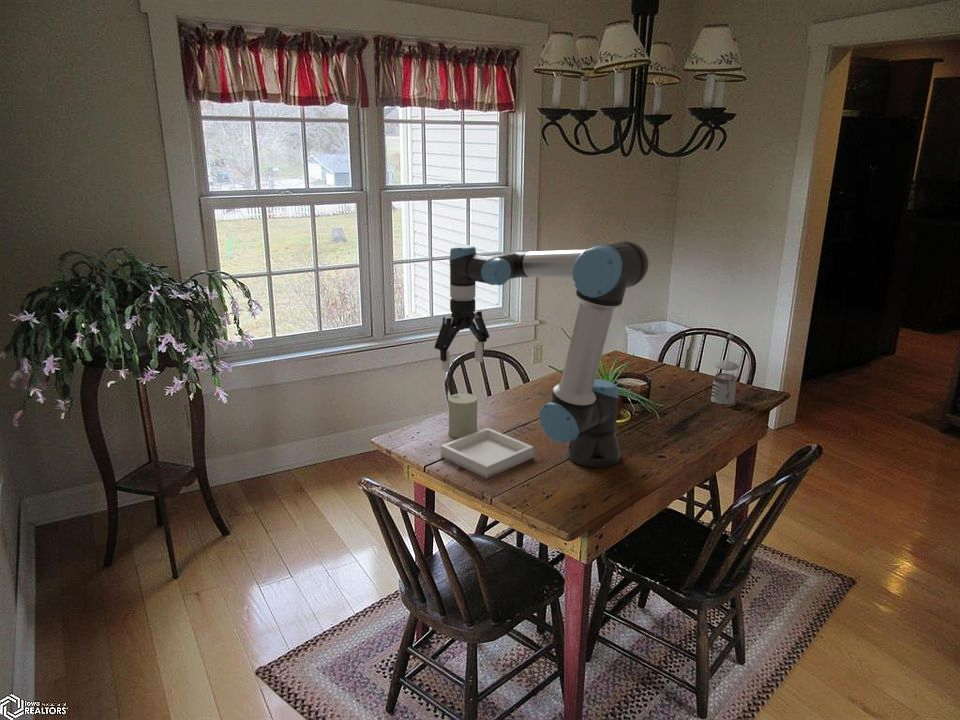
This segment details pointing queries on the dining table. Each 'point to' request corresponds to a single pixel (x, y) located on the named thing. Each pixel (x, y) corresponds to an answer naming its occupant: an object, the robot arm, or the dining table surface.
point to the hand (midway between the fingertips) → (462, 366)
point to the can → (462, 414)
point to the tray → (487, 452)
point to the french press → (724, 382)
